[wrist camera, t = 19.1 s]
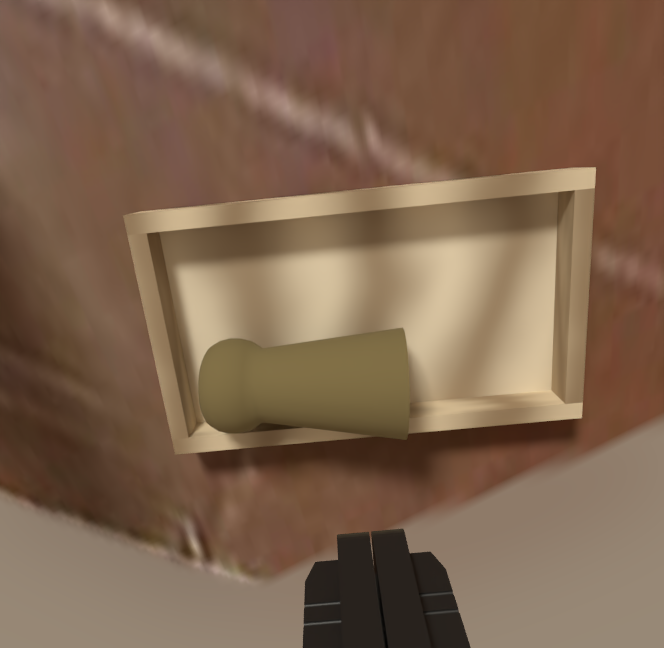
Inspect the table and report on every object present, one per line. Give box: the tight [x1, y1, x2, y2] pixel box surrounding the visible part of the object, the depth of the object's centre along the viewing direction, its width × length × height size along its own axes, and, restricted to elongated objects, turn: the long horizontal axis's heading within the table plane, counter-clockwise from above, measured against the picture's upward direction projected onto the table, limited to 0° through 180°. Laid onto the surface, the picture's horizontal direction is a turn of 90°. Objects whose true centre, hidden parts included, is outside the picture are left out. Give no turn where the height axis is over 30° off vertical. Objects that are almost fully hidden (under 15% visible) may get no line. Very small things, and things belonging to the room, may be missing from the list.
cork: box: [198, 328, 410, 440], centre depth 27 cm, size 6×6×11 cm
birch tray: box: [123, 168, 596, 455], centre depth 28 cm, size 24×14×2 cm, turn 96°
